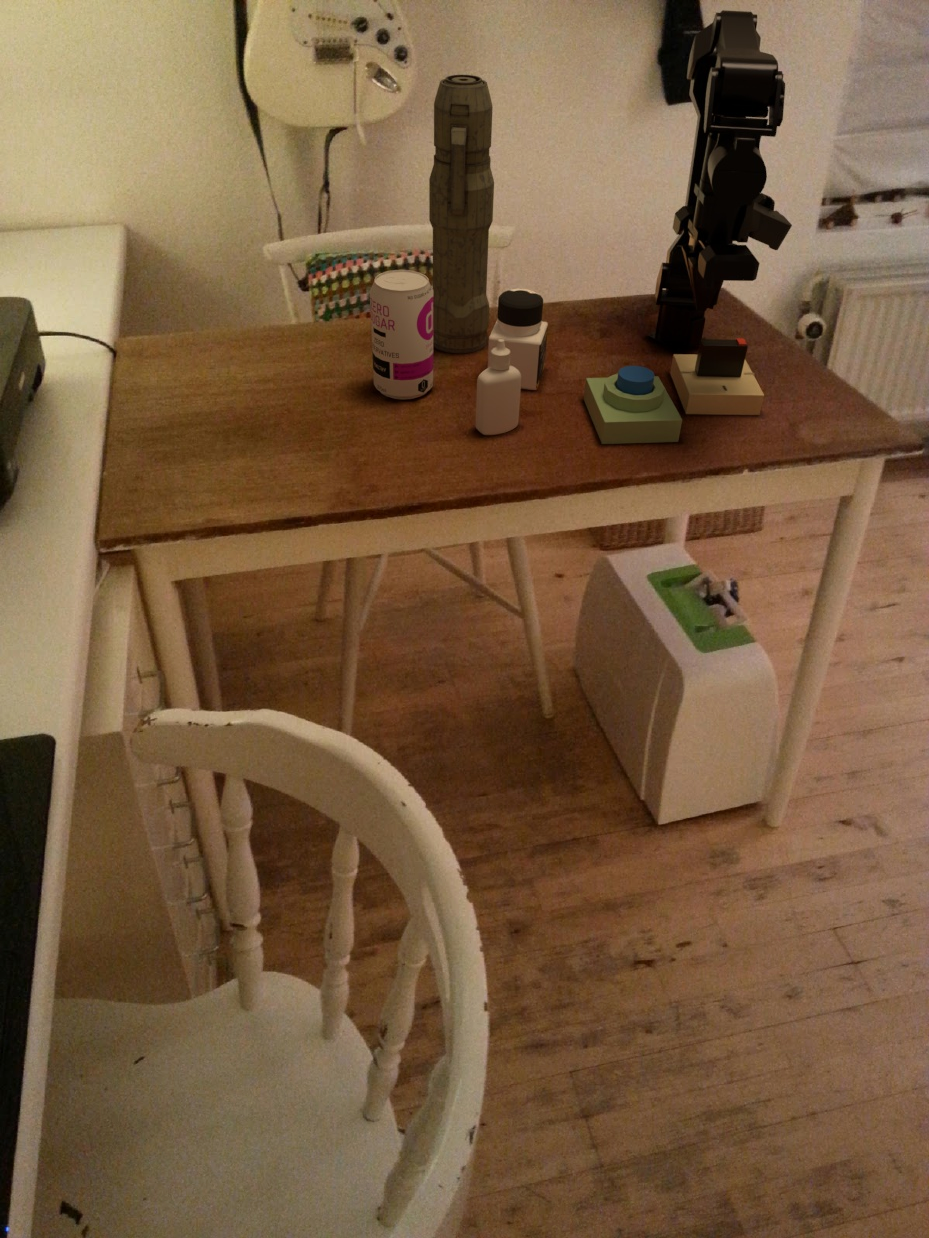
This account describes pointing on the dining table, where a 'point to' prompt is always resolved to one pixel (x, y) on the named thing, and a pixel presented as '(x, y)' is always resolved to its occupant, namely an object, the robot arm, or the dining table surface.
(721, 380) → the console
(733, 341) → the dial
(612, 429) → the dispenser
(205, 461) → the dining table surface
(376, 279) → the supplement can
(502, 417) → the eye dropper bottle
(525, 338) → the medicine bottle
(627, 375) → the cylinder
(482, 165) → the thermos
